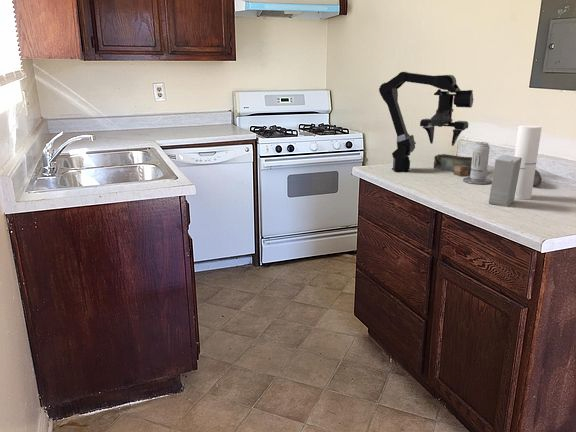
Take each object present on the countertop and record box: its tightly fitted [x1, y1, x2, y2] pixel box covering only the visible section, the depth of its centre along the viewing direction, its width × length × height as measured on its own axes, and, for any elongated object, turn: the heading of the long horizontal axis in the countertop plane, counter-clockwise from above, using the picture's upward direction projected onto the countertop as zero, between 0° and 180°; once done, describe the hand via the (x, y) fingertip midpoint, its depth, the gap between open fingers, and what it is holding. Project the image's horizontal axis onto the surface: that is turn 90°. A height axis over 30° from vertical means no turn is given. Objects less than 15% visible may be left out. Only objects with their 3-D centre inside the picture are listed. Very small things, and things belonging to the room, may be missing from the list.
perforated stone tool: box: [533, 168, 542, 188], centre depth 189 cm, size 15×5×7 cm, turn 2°
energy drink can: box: [469, 141, 490, 181], centre depth 193 cm, size 6×6×15 cm
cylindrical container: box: [513, 124, 542, 201], centre depth 169 cm, size 7×7×25 cm
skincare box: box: [488, 154, 522, 207], centre depth 163 cm, size 8×7×16 cm
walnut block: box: [453, 165, 469, 177], centre depth 206 cm, size 4×4×4 cm
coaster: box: [462, 176, 492, 186], centre depth 195 cm, size 11×11×1 cm
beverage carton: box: [433, 153, 472, 175], centre depth 215 cm, size 8×19×7 cm, turn 43°
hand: (441, 144), depth 203 cm, fingers open, 9 cm apart
